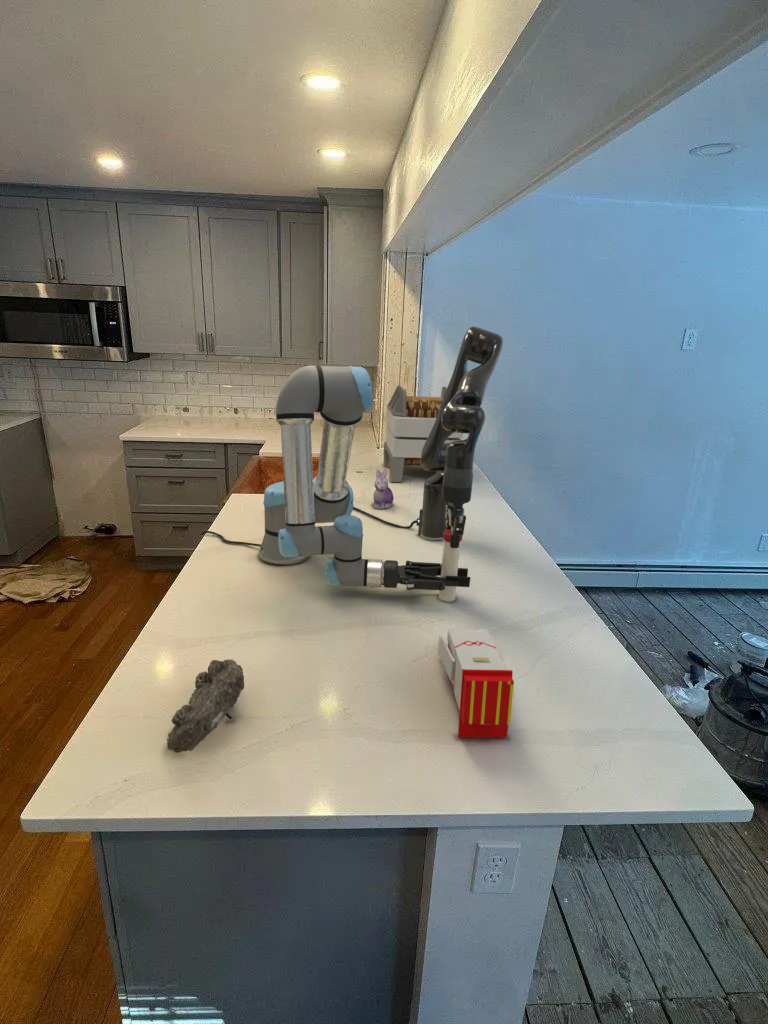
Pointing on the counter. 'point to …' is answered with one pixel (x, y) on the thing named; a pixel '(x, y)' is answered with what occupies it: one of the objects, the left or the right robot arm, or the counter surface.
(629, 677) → the counter surface
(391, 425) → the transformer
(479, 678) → the toy
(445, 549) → the jar
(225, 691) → the fossil
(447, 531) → the lid
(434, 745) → the counter surface
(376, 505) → the figurine
